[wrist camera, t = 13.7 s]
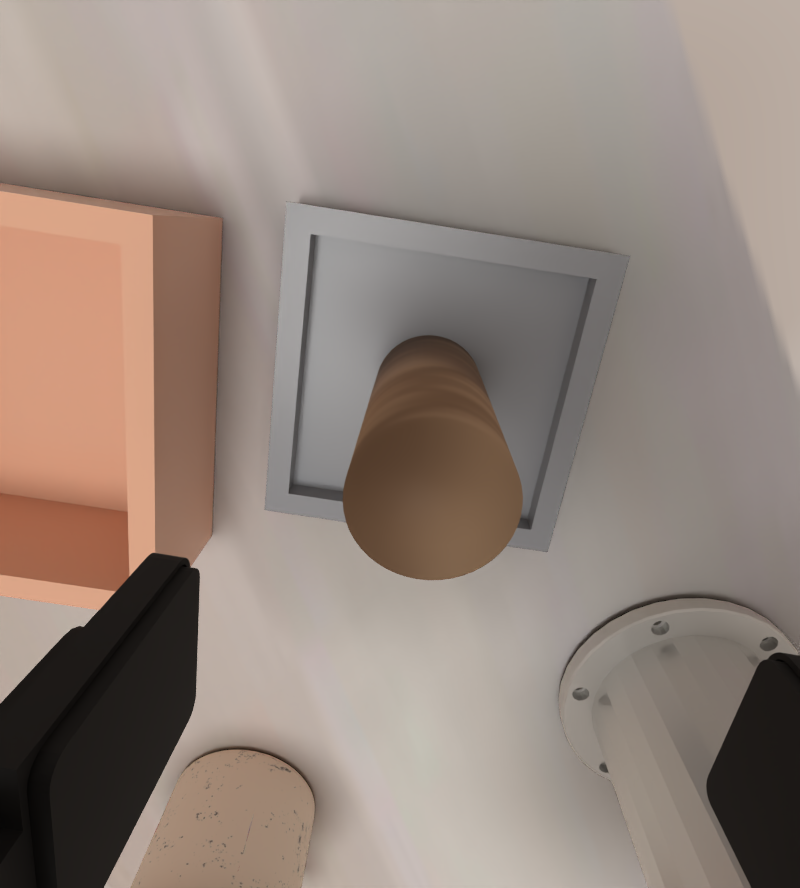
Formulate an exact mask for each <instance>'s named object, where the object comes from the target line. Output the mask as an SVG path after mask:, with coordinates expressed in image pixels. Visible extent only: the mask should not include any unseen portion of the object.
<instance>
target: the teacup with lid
mask: <svg viewBox="0 0 800 888" xmlns="http://www.w3.org/2000/svg"><path fill="white" fill-rule="evenodd" d="M314 816H315V803H314V798H313V795H312V792H311V790H310V788H309V786H308V784H307V783H306V781H305V780H304V779H303V777H302V776H301V775H300V774H299V773H298V772H297V771H296V770H294V769H293V768H292V767H291V766H289V765H288V764H286V763H285V762H283V761H281V760H279V759H277V758H275V757H272V756H270V755H267V754H264V753H260V752H256V751H250V750H223V751H218V752H214V753H211V754H208V755H206V756H204V757H202V758H200V759H198V760H196V761H195V762H193V763H192V764H191V765H190V766H188V767H187V768H186V769H185V771H184V772H183V773H182V774H181V776H180V778H179V780H178V781H177V784H176V786H175V788H174V790H173V793H172V795H171V797H170V799H169V802H168V804H167V806H166V809H165V811H164V813H163V815H162V818H161V820H160V822H159V824H158V827H157V829H156V831H155V833H154V836H153V838H152V840H151V843H150V845H149V847H148V849H147V852H146V854H145V856H144V858H143V861H142V863H141V865H140V867H139V870H138V872H137V874H136V877H135V879H134V881H133V883H132V886H131V888H301V887H302V881H303V876H304V870H305V865H306V859H307V854H308V848H309V843H310V837H311V832H312V827H313V821H314Z"/></svg>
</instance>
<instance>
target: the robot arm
mask: <svg viewBox="0 0 800 888" xmlns="http://www.w3.org/2000/svg"><path fill="white" fill-rule="evenodd" d="M199 583H200V573H199V570H198V569H196V568H190V562H189V560H188V559H187V558H185V557H178V556H172V555H166V554H159V553H151V554H150V555H149V556H147V558H146V559H145V560H144V561H143V562H142V563H141V564H140V565H139V566H138V568H137V569H136V570H135V571H134V572H133V573H132V574H131V575H130V576H129V577H128V579H127V580H126V581H125V582H124V583H123V584H122V585H121V586H120V587H119V589H118V590H117V591H116V592H115V593H114V594H113V595H112V596H111V597H110V599H109V600H108V601H107V602H106V603H105V604H104V605H103V606H102V607H101V608H100V610H99V611H98V612H97V613H96V614H95V615H94V616H93V617H92V618H91V620H90V621H89V622H88V623H87V624H86V625H85V626H84V627H81V626H79V627H76V628H73V629H71V630H70V631H69V632H68V633H67V634H65V635H64V636H63V637H62V638H61V639H60V641H59V642H58V643H57V644H56V645H55V646H54V647H53V648H52V649H51V650H50V651H49V652H48V653H47V654H46V656H45V657H44V658H43V659H42V660H41V661H40V662H39V663H38V664H37V665H36V666H35V667H34V668H33V669H32V671H31V672H30V673H29V674H28V675H27V676H26V677H25V678H24V679H23V680H22V681H21V682H20V683H19V684H18V686H17V687H16V688H15V689H14V690H13V691H12V692H11V693H10V694H9V695H8V696H7V697H6V698H5V699H4V701H3V702H2V703H1V704H0V888H104V886H105V884H106V882H107V880H108V878H109V876H110V874H111V872H112V870H113V868H114V866H115V864H116V862H117V860H118V859H119V857H120V855H121V853H122V851H123V849H124V847H125V845H126V843H127V841H128V839H129V837H130V835H131V833H132V831H133V829H134V827H135V825H136V823H137V821H138V819H139V817H140V815H141V813H142V811H143V809H144V807H145V805H146V803H147V802H148V800H149V798H150V796H151V794H152V792H153V790H154V788H155V786H156V784H157V782H158V780H159V778H160V776H161V774H162V772H163V770H164V768H165V766H166V764H167V762H168V760H169V758H170V756H171V754H172V752H173V750H174V748H175V746H176V745H177V743H178V741H179V739H180V737H181V735H182V733H183V731H184V729H185V727H186V725H187V723H188V721H189V719H190V716H191V714H192V711H193V707H194V703H195V697H196V672H197V643H198V613H199ZM558 702H559V711H560V718H561V721H562V724H563V728H564V731H565V735H566V738H567V740H568V741H569V743H570V745H571V747H572V749H573V751H574V752H575V753H576V755H577V756H578V757H579V758H580V759H581V760H582V761H583V763H584V764H585V765H586V766H588V767H589V768H590V769H591V770H593V771H594V772H595V773H597V774H598V775H600V776H602V777H604V778H606V779H608V780H610V781H612V783H613V786H614V789H615V792H616V795H617V798H618V801H619V804H620V807H621V810H622V813H623V816H624V819H625V821H626V824H627V827H628V830H629V833H630V836H631V839H632V842H633V845H634V848H635V851H636V854H637V857H638V860H639V863H640V865H641V868H642V871H643V874H644V877H645V880H646V883H647V886H648V888H800V655H799V653H798V651H797V649H796V648H795V647H794V646H793V645H792V643H791V642H790V641H789V640H788V639H787V637H786V636H785V635H784V634H783V633H782V632H781V631H780V630H779V629H778V628H777V627H776V626H775V625H774V624H772V623H771V622H770V621H769V620H768V619H767V618H765V617H763V616H761V615H759V614H758V613H756V612H754V611H752V610H751V609H749V608H746V607H743V606H740V605H737V604H734V603H731V602H727V601H720V600H713V599H707V598H685V599H675V600H669V601H663V602H657V603H653V604H650V605H647V606H644V607H641V608H638V609H635V610H632V611H630V612H628V613H626V614H624V615H622V616H620V617H618V618H616V619H614V620H612V621H611V622H609V623H608V624H606V625H605V626H604V627H602V628H601V629H600V630H598V631H597V632H595V633H594V634H593V635H592V636H591V637H590V638H589V639H588V640H587V641H586V642H585V643H584V644H583V645H582V646H581V647H580V648H579V649H578V651H577V652H576V654H575V655H574V657H573V658H572V660H571V661H570V663H569V664H568V666H567V668H566V671H565V673H564V676H563V679H562V681H561V684H560V692H559V699H558Z"/></svg>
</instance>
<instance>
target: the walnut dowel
mask: <svg viewBox="0 0 800 888" xmlns="http://www.w3.org/2000/svg"><path fill="white" fill-rule="evenodd" d="M522 507H523V493H522V485H521V481H520V477H519V474H518V472H517V469H516V466H515V464H514V461H513V459H512V456H511V453H510V451H509V448H508V446H507V443H506V441H505V438H504V435H503V433H502V430H501V428H500V425H499V422H498V420H497V417H496V415H495V412H494V410H493V407H492V404H491V402H490V399H489V397H488V394H487V391H486V389H485V386H484V384H483V381H482V379H481V376H480V373H479V371H478V368H477V366H476V364H475V362H474V360H473V359H472V357H471V356H470V355H469V353H468V352H467V351H466V350H465V349H464V348H463V347H461V346H460V345H459V344H457V343H456V342H454V341H452V340H450V339H447V338H444V337H440V336H433V335H424V336H417V337H414V338H410V339H408V340H406V341H403V342H402V343H400V344H399V345H397V346H396V347H395V348H393V349H392V350H391V351H390V352H389V353H388V354H387V356H386V357H385V359H384V360H383V362H382V364H381V366H380V368H379V371H378V374H377V377H376V380H375V384H374V387H373V390H372V393H371V397H370V400H369V403H368V407H367V410H366V413H365V416H364V420H363V423H362V426H361V430H360V433H359V436H358V439H357V443H356V446H355V449H354V453H353V456H352V459H351V462H350V466H349V469H348V472H347V476H346V479H345V483H344V488H343V511H344V515H345V519H346V523H347V525H348V528H349V530H350V532H351V534H352V536H353V538H354V539H355V541H356V542H357V544H358V545H359V546H360V548H361V549H362V550H363V551H364V552H365V553H366V554H367V555H368V556H369V557H370V558H371V559H373V560H374V561H375V562H377V563H378V564H380V565H381V566H383V567H384V568H386V569H388V570H390V571H392V572H395V573H397V574H400V575H403V576H406V577H410V578H415V579H423V580H443V579H450V578H455V577H459V576H462V575H465V574H468V573H471V572H473V571H475V570H477V569H479V568H481V567H483V566H484V565H486V564H487V563H489V562H490V561H491V560H493V559H494V558H495V557H496V556H497V555H498V554H499V553H500V552H501V551H502V550H503V549H504V548H505V547H506V546H507V544H508V543H509V541H510V540H511V538H512V537H513V535H514V533H515V531H516V529H517V527H518V524H519V521H520V518H521V512H522Z"/></svg>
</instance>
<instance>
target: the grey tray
mask: <svg viewBox="0 0 800 888" xmlns="http://www.w3.org/2000/svg"><path fill="white" fill-rule="evenodd" d="M629 258H630V256H627V255H621V254H615V253H608V252H602V251H596V250H590V249H583V248H577V247H571V246H564V245H558V244H552V243H545V242H539V241H533V240H527V239H520V238H514V237H508V236H501V235H495V234H489V233H483V232H476V231H470V230H464V229H457V228H451V227H445V226H438V225H432V224H426V223H420V222H413V221H407V220H401V219H394V218H388V217H382V216H376V215H369V214H363V213H357V212H350V211H344V210H338V209H331V208H325V207H319V206H313V205H306V204H300V203H294V202H287V201H286V214H285V228H284V243H283V257H282V271H281V285H280V299H279V314H278V328H277V342H276V356H275V371H274V385H273V399H272V413H271V427H270V442H269V456H268V470H267V484H266V498H265V510H268V511H274V512H281V513H288V514H294V515H301V516H308V517H315V518H321V519H328V520H335V521H341V522H346V519H345V515H344V511H343V488H344V483H345V479H346V476H347V472H348V469H349V466H350V462H351V459H352V456H353V453H354V449H355V446H356V443H357V439H358V436H359V433H360V430H361V426H362V423H363V420H364V416H365V413H366V410H367V407H368V403H369V400H370V397H371V393H372V390H373V387H374V384H375V380H376V377H377V374H378V371H379V368H380V366H381V364H382V362H383V360H384V359H385V357H386V356H387V354H388V353H389V352H390V351H391V350H392V349H393V348H395V347H396V346H397V345H399V344H400V343H402V342H403V341H406V340H408V339H410V338H414V337H417V336H424V335H433V336H440V337H444V338H447V339H450V340H452V341H454V342H456V343H457V344H459V345H460V346H461V347H463V348H464V349H465V350H466V351H467V352H468V353H469V355H470V356H471V357H472V359H473V360H474V362H475V364H476V366H477V368H478V371H479V373H480V376H481V379H482V381H483V384H484V386H485V389H486V391H487V394H488V397H489V399H490V402H491V404H492V407H493V410H494V412H495V415H496V417H497V420H498V422H499V425H500V428H501V430H502V433H503V435H504V438H505V441H506V443H507V446H508V448H509V451H510V453H511V456H512V459H513V461H514V464H515V466H516V469H517V472H518V474H519V477H520V481H521V485H522V493H523V507H522V512H521V518H520V521H519V524H518V527H517V529H516V531H515V533H514V535H513V537H512V538H511V540H510V541H509V543H508V544H507V546H509V547H516V548H523V549H529V550H536V551H543V552H548V549H549V545H550V541H551V538H552V534H553V531H554V527H555V523H556V520H557V516H558V513H559V509H560V506H561V502H562V498H563V495H564V491H565V488H566V484H567V480H568V477H569V473H570V470H571V466H572V463H573V459H574V455H575V452H576V448H577V445H578V441H579V437H580V434H581V430H582V427H583V423H584V420H585V416H586V412H587V409H588V405H589V402H590V398H591V394H592V391H593V387H594V384H595V380H596V377H597V373H598V369H599V366H600V362H601V359H602V355H603V351H604V348H605V344H606V341H607V337H608V333H609V330H610V326H611V323H612V319H613V316H614V312H615V308H616V305H617V301H618V298H619V294H620V290H621V287H622V283H623V280H624V276H625V273H626V269H627V265H628V262H629Z"/></svg>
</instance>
